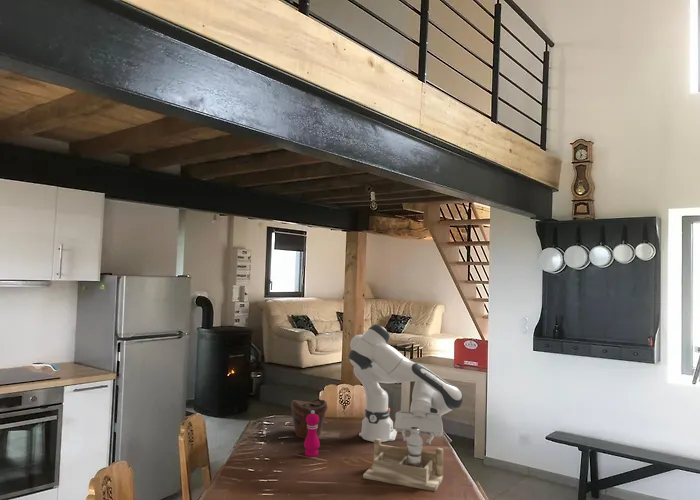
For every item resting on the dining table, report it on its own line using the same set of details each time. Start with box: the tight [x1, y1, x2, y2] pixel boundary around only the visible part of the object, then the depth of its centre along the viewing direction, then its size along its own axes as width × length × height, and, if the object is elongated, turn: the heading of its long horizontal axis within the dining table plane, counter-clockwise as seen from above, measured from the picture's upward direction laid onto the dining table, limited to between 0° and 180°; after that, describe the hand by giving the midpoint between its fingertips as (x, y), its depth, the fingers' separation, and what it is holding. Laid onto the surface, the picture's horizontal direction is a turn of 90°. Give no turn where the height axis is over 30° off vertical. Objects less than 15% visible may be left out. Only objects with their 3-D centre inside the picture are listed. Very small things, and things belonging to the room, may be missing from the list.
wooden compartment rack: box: [362, 439, 444, 492], centre depth 221 cm, size 14×30×12 cm, turn 68°
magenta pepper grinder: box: [303, 410, 321, 457], centre depth 246 cm, size 7×7×20 cm
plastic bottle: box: [406, 427, 424, 468], centre depth 217 cm, size 6×7×20 cm
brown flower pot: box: [290, 398, 328, 439], centre depth 274 cm, size 18×20×18 cm
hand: (416, 442), depth 219 cm, fingers open, 8 cm apart
